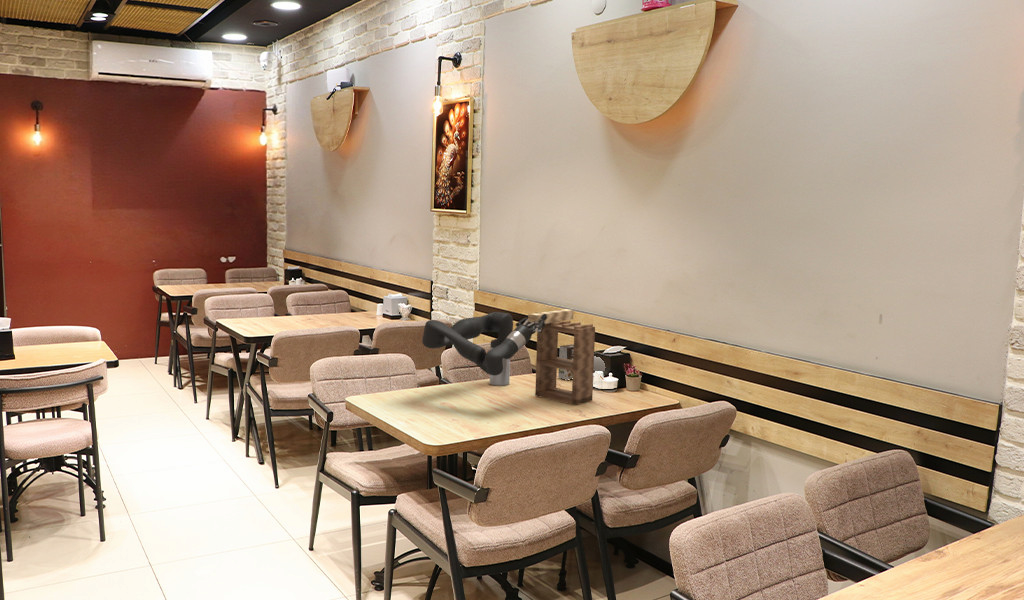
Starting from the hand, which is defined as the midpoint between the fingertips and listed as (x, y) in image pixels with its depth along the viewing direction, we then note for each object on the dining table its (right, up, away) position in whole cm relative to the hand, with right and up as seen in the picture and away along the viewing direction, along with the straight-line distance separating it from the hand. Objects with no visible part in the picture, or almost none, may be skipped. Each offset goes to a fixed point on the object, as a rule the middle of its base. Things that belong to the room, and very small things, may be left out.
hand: (541, 314), depth 336 cm
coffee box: (+15, -32, +45) cm, 57 cm away
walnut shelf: (+10, -36, +8) cm, 38 cm away
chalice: (+30, -34, +29) cm, 54 cm away
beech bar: (+4, -3, +5) cm, 7 cm away
